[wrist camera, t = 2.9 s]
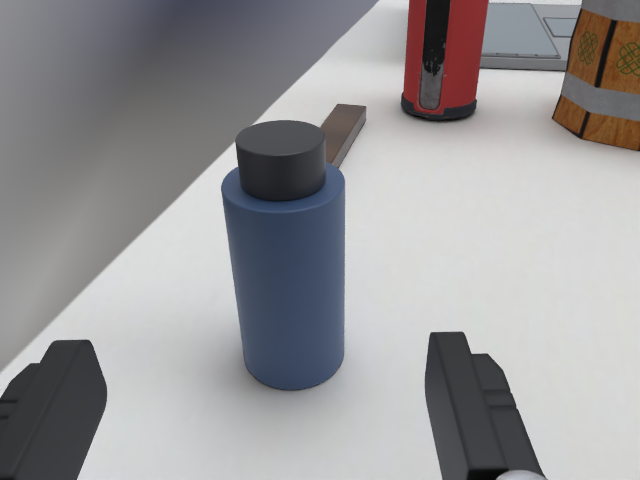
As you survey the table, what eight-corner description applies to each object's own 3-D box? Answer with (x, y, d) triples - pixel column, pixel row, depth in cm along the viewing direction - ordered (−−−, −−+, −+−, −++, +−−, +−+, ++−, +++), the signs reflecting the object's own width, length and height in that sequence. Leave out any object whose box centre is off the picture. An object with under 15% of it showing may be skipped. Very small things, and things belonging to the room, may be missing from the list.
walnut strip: (315, 207, 41) (315, 189, 40) (278, 202, 42) (276, 184, 41) (366, 120, 55) (366, 105, 55) (337, 117, 56) (337, 103, 55)
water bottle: (289, 408, 26) (270, 178, 19) (224, 351, 29) (189, 137, 22) (365, 352, 28) (372, 135, 22) (298, 305, 32) (287, 104, 25)
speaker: (389, 115, 56) (400, -89, 46) (414, 92, 62) (428, -94, 52) (464, 127, 53) (492, -89, 43) (483, 102, 59) (512, -94, 49)
